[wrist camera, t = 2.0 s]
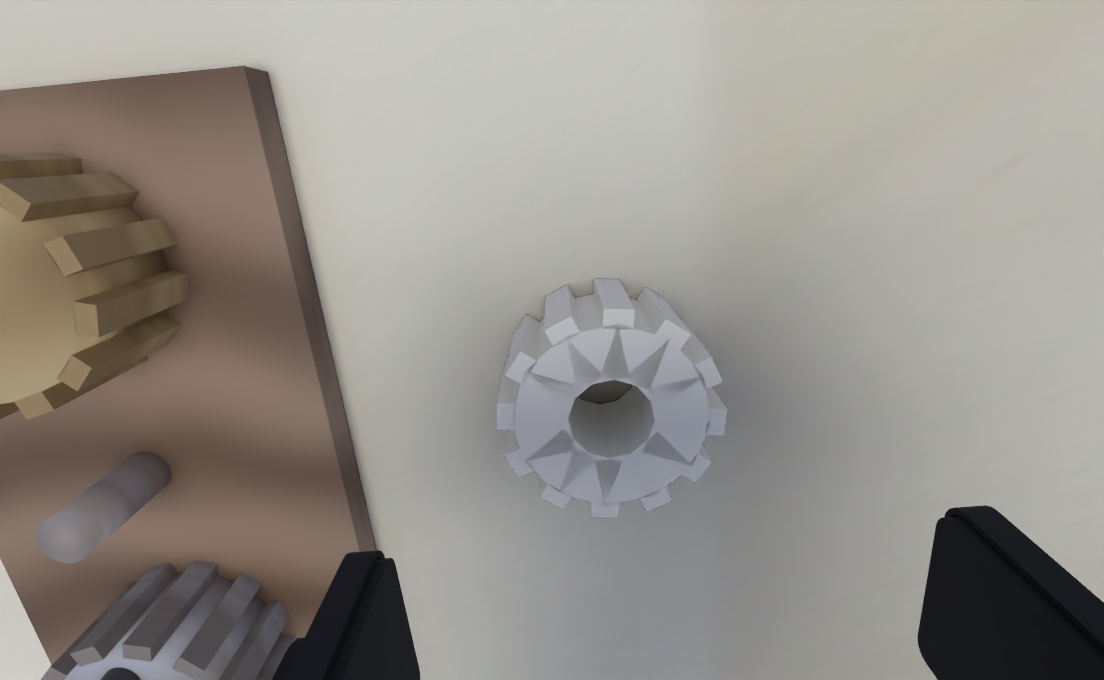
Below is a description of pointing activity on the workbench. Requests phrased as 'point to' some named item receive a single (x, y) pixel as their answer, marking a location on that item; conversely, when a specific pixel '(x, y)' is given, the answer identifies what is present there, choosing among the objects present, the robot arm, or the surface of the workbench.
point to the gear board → (164, 382)
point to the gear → (615, 427)
